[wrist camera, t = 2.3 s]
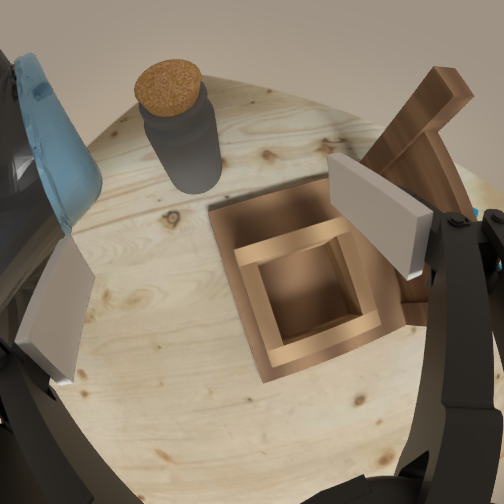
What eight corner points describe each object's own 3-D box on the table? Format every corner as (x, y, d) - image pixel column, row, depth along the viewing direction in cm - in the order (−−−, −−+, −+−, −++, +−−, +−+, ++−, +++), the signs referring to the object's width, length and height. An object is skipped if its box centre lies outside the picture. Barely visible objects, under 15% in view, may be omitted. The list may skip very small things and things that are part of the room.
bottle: (174, 200, 31) (127, 124, 16) (167, 155, 32) (126, 67, 17) (227, 187, 31) (217, 100, 17) (216, 143, 32) (202, 46, 18)
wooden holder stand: (262, 380, 28) (291, 486, 9) (208, 214, 31) (167, 99, 12) (418, 315, 30) (551, 314, 11) (366, 170, 32) (455, 68, 14)
